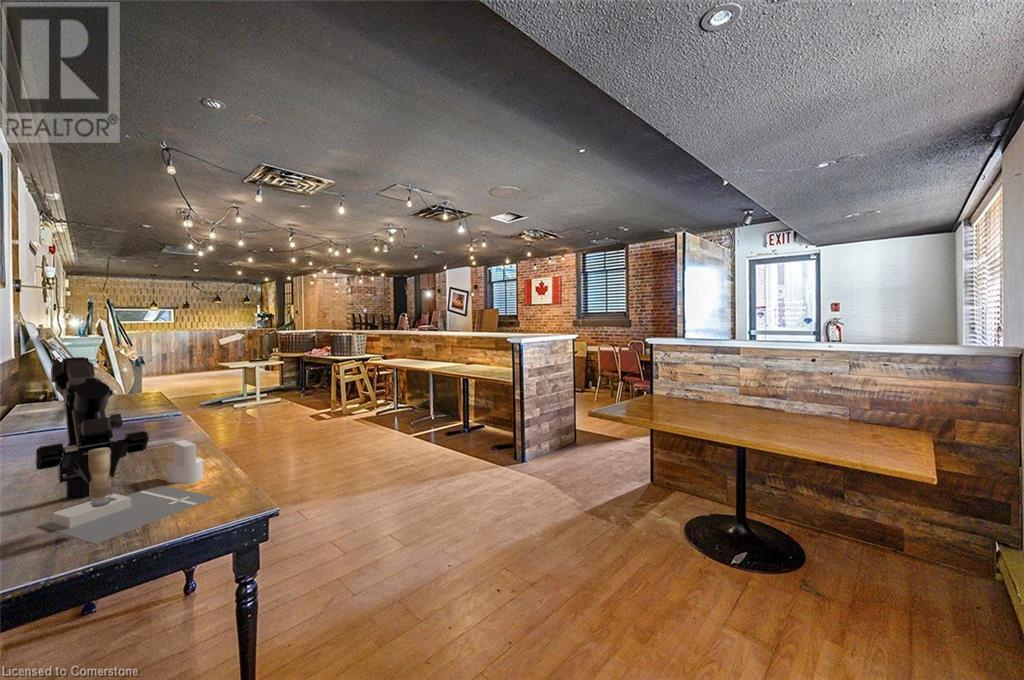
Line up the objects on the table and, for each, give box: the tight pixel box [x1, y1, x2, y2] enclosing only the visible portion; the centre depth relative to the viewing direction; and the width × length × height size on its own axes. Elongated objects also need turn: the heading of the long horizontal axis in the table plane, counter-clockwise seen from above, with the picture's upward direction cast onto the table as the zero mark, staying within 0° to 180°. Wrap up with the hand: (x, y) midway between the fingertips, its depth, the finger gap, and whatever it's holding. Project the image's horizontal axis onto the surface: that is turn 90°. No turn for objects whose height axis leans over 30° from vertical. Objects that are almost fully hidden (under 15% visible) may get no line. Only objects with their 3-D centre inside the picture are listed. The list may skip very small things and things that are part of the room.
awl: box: [88, 447, 112, 507], centre depth 97 cm, size 4×4×13 cm
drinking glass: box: [165, 439, 204, 486], centre depth 130 cm, size 9×9×12 cm
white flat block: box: [52, 493, 131, 528], centre depth 104 cm, size 7×12×3 cm, turn 160°
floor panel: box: [36, 484, 216, 545], centre depth 107 cm, size 24×26×1 cm
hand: (101, 479), depth 96 cm, fingers closed on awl, 4 cm apart
